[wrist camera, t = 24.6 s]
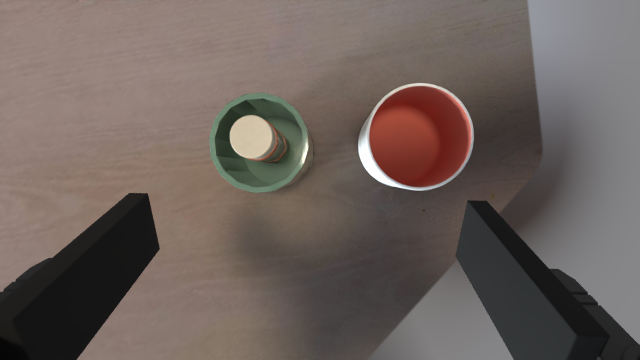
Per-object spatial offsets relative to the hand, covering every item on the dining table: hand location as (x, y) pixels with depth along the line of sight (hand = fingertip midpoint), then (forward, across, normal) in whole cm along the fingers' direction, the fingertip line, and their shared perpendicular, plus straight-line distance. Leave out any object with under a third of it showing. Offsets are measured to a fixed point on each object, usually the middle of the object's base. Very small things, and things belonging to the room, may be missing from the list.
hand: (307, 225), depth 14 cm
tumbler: (+27, -5, -6) cm, 29 cm away
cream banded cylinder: (+27, -5, -6) cm, 28 cm away
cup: (+28, +10, -6) cm, 30 cm away
